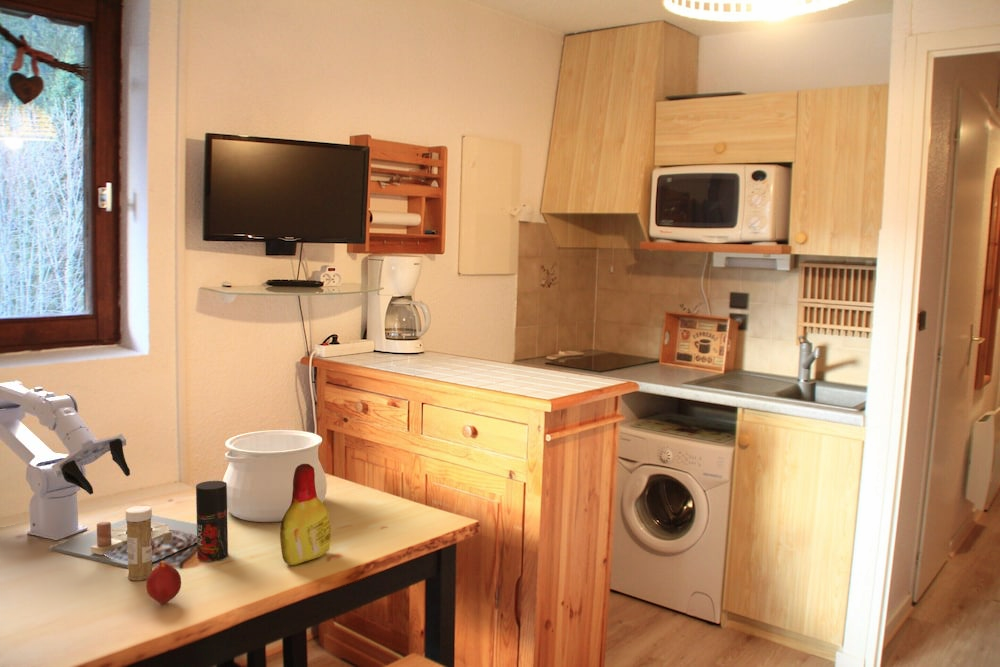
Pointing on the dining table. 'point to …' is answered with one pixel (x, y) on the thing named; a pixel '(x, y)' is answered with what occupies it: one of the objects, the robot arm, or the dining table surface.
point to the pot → (269, 472)
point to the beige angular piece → (120, 536)
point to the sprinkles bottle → (139, 542)
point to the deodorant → (212, 521)
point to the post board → (84, 542)
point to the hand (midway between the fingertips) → (110, 481)
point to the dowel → (167, 536)
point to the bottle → (304, 521)
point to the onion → (163, 583)
